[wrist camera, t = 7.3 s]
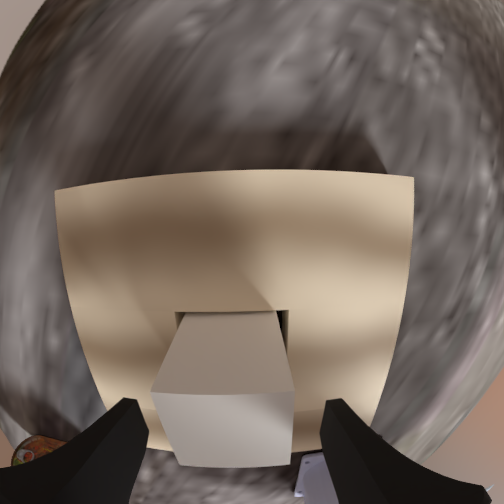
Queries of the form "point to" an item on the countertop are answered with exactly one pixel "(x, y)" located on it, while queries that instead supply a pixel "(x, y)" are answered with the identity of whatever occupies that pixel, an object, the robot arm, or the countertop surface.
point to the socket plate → (241, 276)
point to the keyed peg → (227, 391)
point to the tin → (34, 449)
